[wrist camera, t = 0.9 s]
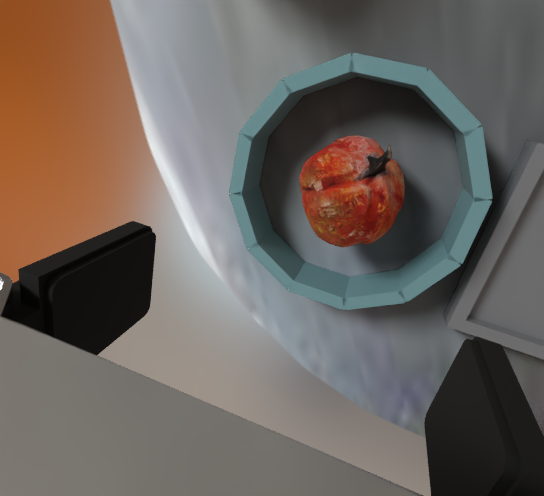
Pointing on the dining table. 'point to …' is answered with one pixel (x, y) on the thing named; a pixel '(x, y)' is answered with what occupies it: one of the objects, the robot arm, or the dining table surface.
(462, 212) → the teal polygonal ring
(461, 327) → the tray
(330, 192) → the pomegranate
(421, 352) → the dining table surface
